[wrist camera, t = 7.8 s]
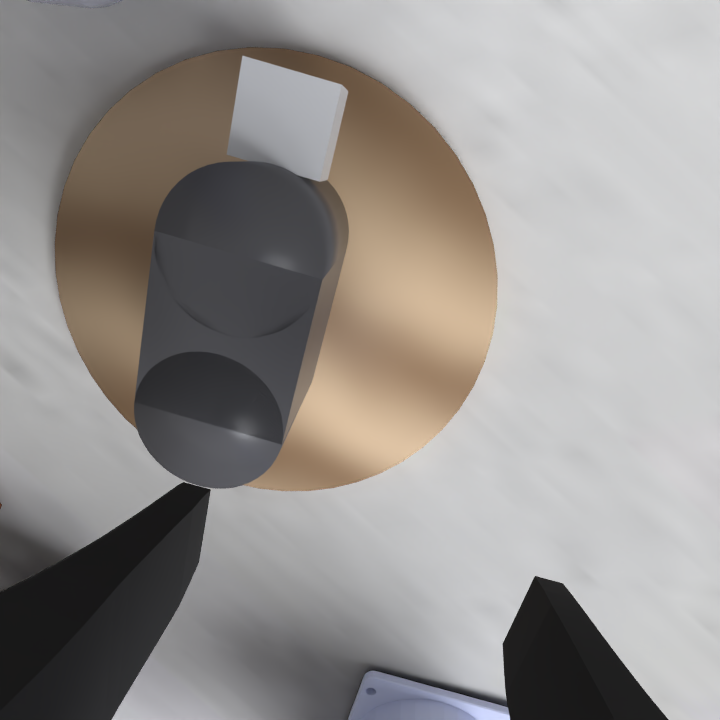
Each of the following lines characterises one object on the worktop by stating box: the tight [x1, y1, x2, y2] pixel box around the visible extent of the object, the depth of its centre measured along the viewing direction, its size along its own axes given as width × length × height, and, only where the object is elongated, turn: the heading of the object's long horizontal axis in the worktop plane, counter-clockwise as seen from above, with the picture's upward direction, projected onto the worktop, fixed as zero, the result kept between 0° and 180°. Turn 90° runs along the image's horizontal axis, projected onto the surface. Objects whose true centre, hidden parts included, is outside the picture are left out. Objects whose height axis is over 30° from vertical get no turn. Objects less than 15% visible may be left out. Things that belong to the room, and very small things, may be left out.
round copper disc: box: [55, 47, 497, 491], centre depth 19 cm, size 16×16×1 cm
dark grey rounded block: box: [134, 56, 349, 488], centre depth 16 cm, size 12×4×5 cm, turn 165°
